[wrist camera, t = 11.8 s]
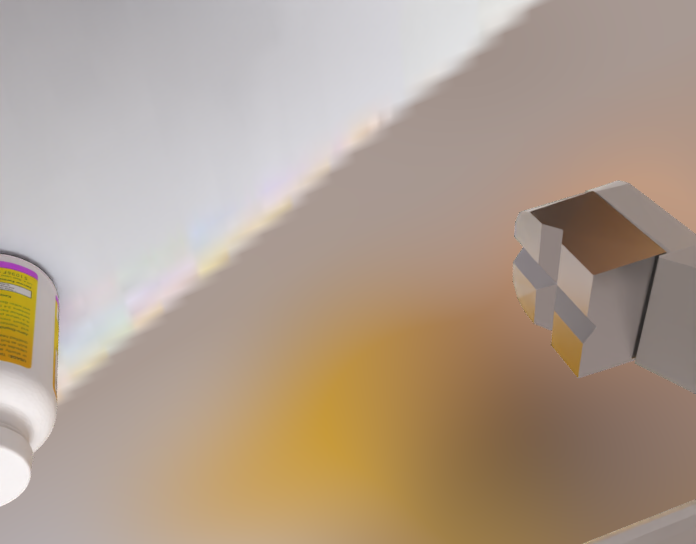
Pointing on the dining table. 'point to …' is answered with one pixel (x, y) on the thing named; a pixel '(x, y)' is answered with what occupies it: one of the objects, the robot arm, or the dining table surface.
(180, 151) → the dining table surface
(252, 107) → the dining table surface
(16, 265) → the supplement bottle
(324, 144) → the dining table surface
